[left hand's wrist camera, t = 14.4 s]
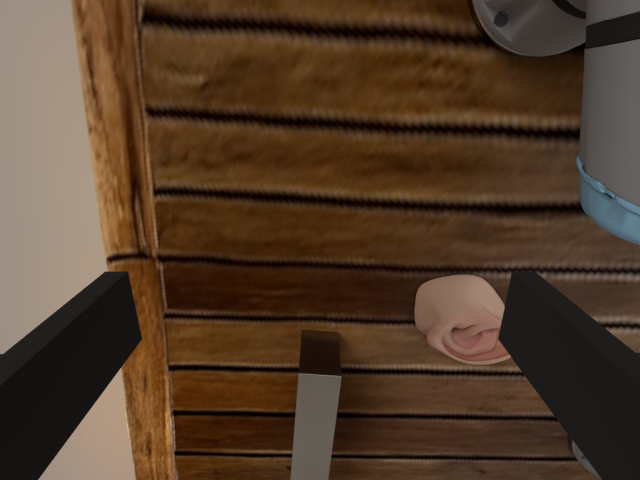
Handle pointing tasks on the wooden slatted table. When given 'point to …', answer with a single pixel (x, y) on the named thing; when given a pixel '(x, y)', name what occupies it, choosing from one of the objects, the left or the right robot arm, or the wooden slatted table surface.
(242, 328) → the wooden slatted table surface
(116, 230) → the wooden slatted table surface
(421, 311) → the anatomical model
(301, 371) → the bar
